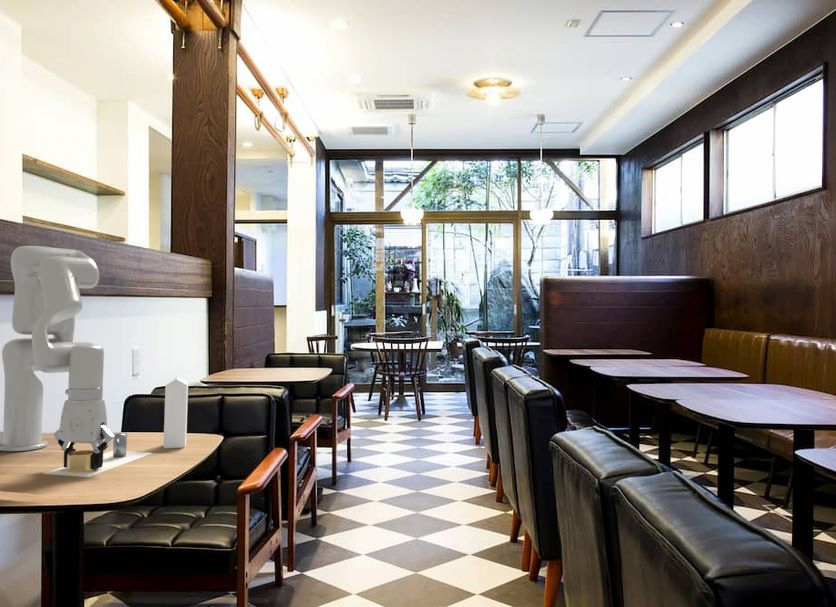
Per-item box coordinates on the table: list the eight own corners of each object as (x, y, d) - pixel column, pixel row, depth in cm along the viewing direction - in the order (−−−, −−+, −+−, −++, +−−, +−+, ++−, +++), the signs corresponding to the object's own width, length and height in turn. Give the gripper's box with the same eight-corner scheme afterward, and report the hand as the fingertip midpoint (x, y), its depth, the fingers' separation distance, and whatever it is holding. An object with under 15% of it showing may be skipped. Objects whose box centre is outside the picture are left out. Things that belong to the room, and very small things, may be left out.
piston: (110, 457, 166) (111, 434, 166) (118, 454, 169) (118, 432, 169) (121, 458, 165) (121, 435, 165) (128, 455, 168) (129, 433, 168)
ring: (60, 471, 150) (61, 454, 151) (80, 464, 157) (81, 449, 157) (85, 473, 149) (86, 456, 149) (104, 466, 156) (105, 450, 156)
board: (42, 479, 148) (43, 473, 148) (113, 455, 174) (113, 450, 174) (87, 483, 146) (88, 476, 146) (152, 458, 172) (153, 452, 172)
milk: (163, 448, 185) (165, 374, 185) (165, 444, 190) (167, 372, 191) (185, 447, 186) (186, 373, 186) (186, 443, 192) (188, 371, 192)
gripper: (42, 395, 151) (40, 468, 151) (107, 398, 148) (104, 473, 148) (65, 391, 159) (62, 461, 158) (127, 394, 156) (124, 466, 156)
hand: (83, 466), depth 153 cm, fingers closed on ring, 6 cm apart
